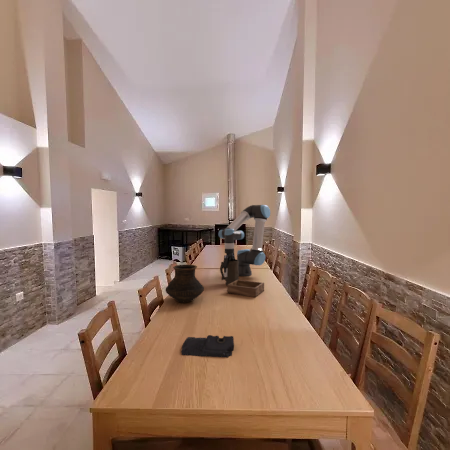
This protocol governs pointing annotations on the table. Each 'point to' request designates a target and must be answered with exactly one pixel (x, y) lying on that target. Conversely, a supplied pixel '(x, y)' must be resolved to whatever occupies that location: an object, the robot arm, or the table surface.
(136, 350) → the table surface
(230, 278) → the beer stein
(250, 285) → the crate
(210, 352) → the dark grey flat piece
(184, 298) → the ceramic pot
